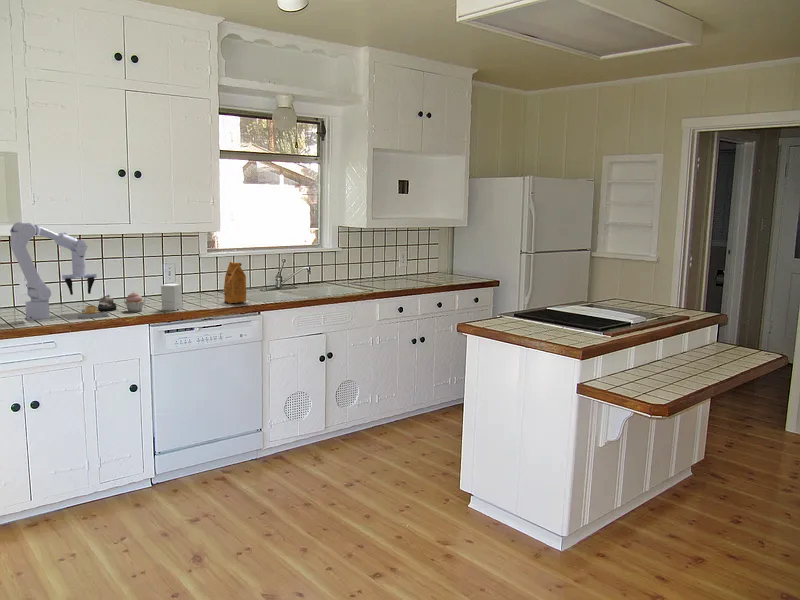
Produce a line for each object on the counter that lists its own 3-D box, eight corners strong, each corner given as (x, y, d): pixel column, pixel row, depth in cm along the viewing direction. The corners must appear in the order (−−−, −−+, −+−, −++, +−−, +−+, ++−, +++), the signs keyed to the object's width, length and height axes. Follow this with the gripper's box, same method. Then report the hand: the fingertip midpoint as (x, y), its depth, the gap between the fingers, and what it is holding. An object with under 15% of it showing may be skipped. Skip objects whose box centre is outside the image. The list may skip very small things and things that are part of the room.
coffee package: (238, 300, 375) (238, 260, 372) (248, 303, 366) (247, 262, 362) (221, 301, 369) (220, 261, 366) (231, 304, 359) (230, 263, 356)
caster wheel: (107, 319, 326) (92, 314, 329) (125, 310, 336) (109, 306, 339) (106, 306, 323) (90, 301, 327) (124, 298, 333) (108, 294, 336)
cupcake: (132, 309, 340) (131, 289, 338) (148, 310, 338) (147, 290, 336) (120, 312, 331) (119, 291, 329) (137, 313, 329) (136, 292, 327)
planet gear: (84, 317, 308) (83, 308, 307) (81, 315, 314) (80, 305, 313) (101, 316, 312) (101, 306, 311) (98, 314, 318) (97, 304, 317)
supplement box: (182, 308, 344) (181, 283, 342) (174, 311, 337) (174, 285, 335) (169, 308, 345) (168, 283, 343) (161, 310, 338) (160, 285, 336)
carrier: (67, 322, 302) (67, 314, 302) (60, 316, 315) (60, 309, 315) (110, 318, 312) (110, 310, 312) (102, 313, 326) (101, 306, 325)
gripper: (63, 266, 311) (65, 296, 313) (97, 265, 319) (98, 294, 321) (60, 265, 316) (62, 294, 318) (94, 264, 325) (95, 292, 327)
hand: (80, 294), depth 320 cm, fingers open, 7 cm apart
